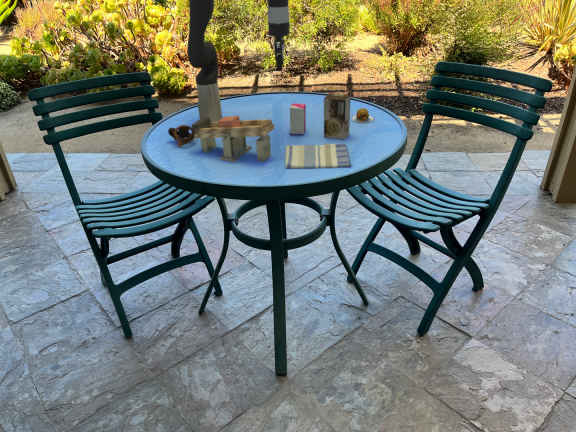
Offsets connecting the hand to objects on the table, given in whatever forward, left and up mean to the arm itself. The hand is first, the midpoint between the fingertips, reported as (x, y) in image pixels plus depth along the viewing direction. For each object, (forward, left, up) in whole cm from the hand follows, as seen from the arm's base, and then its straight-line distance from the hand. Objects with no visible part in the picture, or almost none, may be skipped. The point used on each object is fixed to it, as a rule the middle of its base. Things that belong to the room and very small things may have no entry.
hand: (280, 67), depth 155 cm
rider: (-11, -21, -18) cm, 29 cm away
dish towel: (+20, -14, -28) cm, 37 cm away
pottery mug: (-36, -19, -28) cm, 49 cm away
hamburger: (+25, +29, -28) cm, 48 cm away
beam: (-10, -21, -18) cm, 29 cm away
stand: (-10, -21, -27) cm, 36 cm away
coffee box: (+20, +8, -27) cm, 35 cm away
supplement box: (+4, +6, -27) cm, 28 cm away
